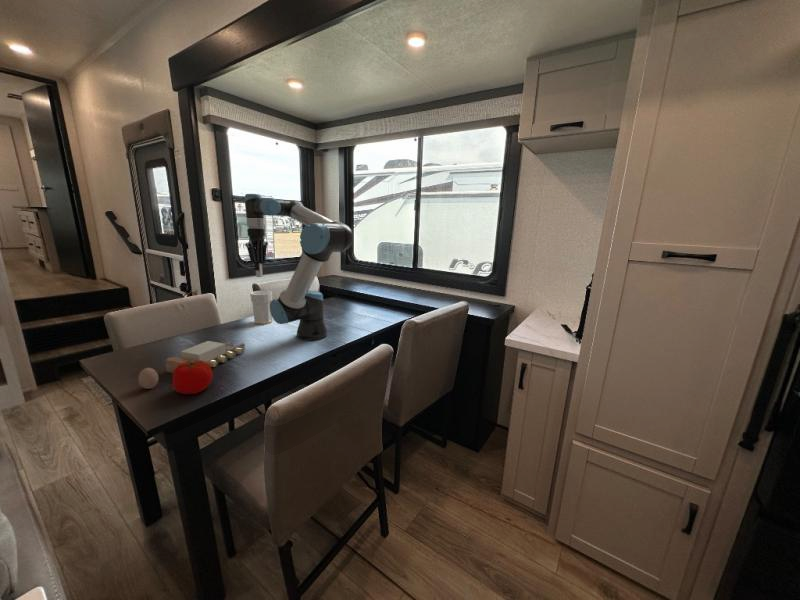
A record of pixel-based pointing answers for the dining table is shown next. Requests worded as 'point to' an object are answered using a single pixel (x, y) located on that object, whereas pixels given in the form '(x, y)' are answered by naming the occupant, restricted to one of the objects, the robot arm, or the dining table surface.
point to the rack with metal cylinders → (230, 353)
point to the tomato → (192, 377)
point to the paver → (204, 351)
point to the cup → (261, 306)
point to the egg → (148, 378)
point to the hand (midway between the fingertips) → (259, 276)
